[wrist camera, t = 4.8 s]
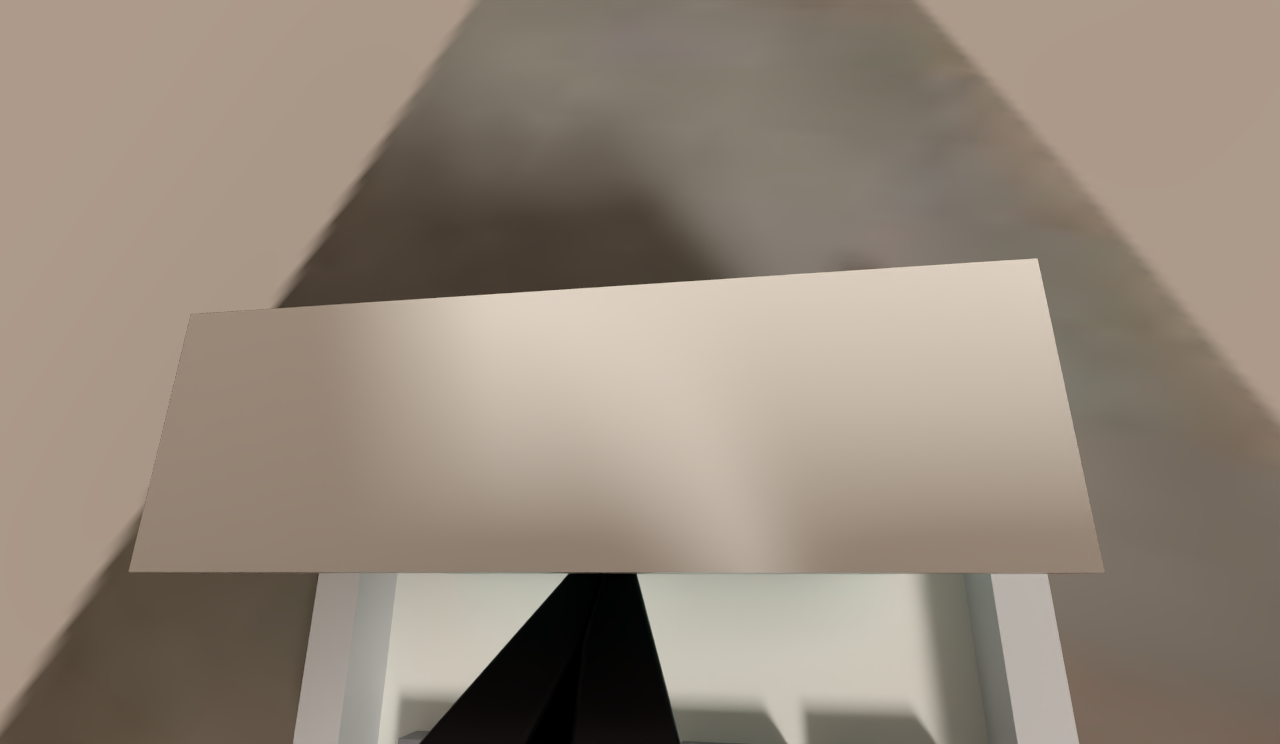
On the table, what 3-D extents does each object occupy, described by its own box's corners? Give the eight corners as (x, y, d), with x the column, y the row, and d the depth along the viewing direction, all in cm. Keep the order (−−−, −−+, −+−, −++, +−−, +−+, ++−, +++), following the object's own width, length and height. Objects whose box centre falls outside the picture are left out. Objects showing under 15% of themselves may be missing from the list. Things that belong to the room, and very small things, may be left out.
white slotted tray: (1043, 882, 13) (1118, 958, 10) (353, 836, 15) (271, 889, 12) (959, 363, 16) (999, 321, 14) (407, 388, 19) (352, 355, 16)
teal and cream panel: (897, 579, 14) (1104, 572, 6) (447, 578, 15) (128, 572, 7) (880, 432, 15) (1037, 258, 7) (460, 445, 16) (190, 314, 8)
